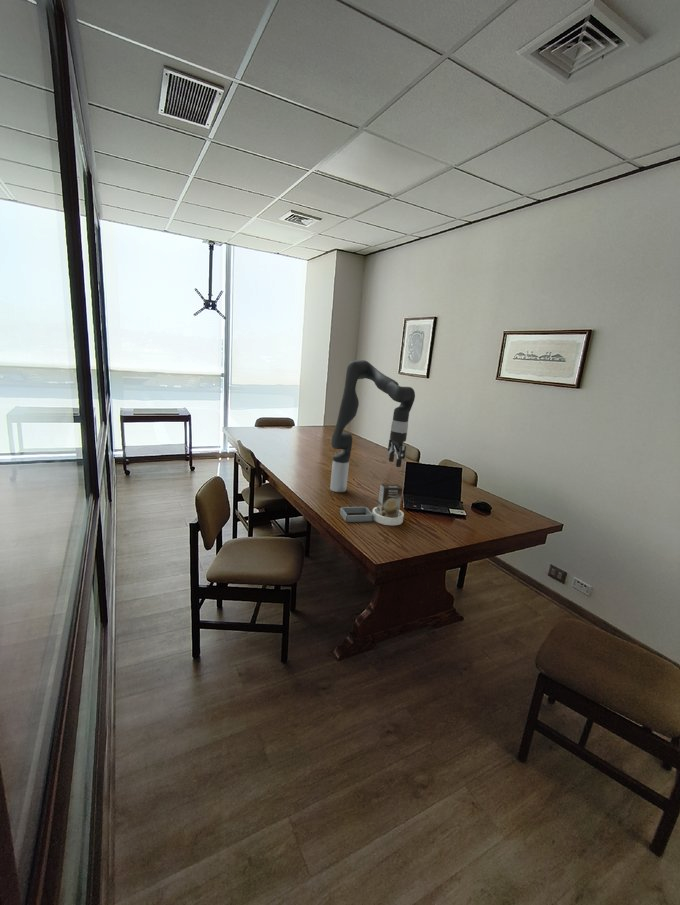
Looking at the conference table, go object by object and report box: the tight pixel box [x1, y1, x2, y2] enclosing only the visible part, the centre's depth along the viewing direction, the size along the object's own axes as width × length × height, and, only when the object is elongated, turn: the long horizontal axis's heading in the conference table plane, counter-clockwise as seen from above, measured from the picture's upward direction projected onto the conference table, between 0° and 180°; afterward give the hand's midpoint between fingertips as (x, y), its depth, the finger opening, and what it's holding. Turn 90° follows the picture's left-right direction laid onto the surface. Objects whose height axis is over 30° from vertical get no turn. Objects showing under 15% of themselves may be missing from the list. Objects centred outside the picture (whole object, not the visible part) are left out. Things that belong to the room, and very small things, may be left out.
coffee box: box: [376, 483, 403, 518], centre depth 193 cm, size 9×6×16 cm
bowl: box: [371, 506, 405, 526], centre depth 194 cm, size 15×15×4 cm
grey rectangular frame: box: [339, 506, 374, 523], centre depth 193 cm, size 11×14×3 cm
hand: (394, 464), depth 188 cm, fingers open, 8 cm apart
